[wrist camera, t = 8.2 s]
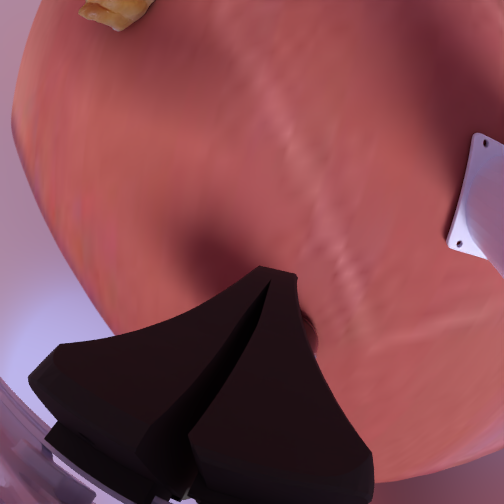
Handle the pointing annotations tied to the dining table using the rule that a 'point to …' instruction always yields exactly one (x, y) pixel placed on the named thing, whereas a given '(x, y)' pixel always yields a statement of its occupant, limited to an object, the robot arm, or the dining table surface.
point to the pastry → (115, 12)
